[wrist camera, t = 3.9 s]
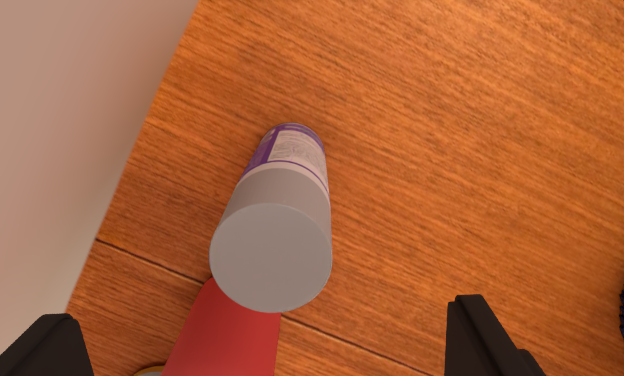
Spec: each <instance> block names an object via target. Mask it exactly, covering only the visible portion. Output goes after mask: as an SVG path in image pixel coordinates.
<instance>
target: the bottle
mask: <svg viewBox="0 0 624 376" xmlns="http://www.w3.org/2000/svg"><path fill="white" fill-rule="evenodd" d="M164 367H165V366H154V367H149V368H146V369H143V370H141V371H139V372H137V373H136V374H135V375H133V376H160V375H161V373H162V371H163V369H164Z"/></svg>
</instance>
